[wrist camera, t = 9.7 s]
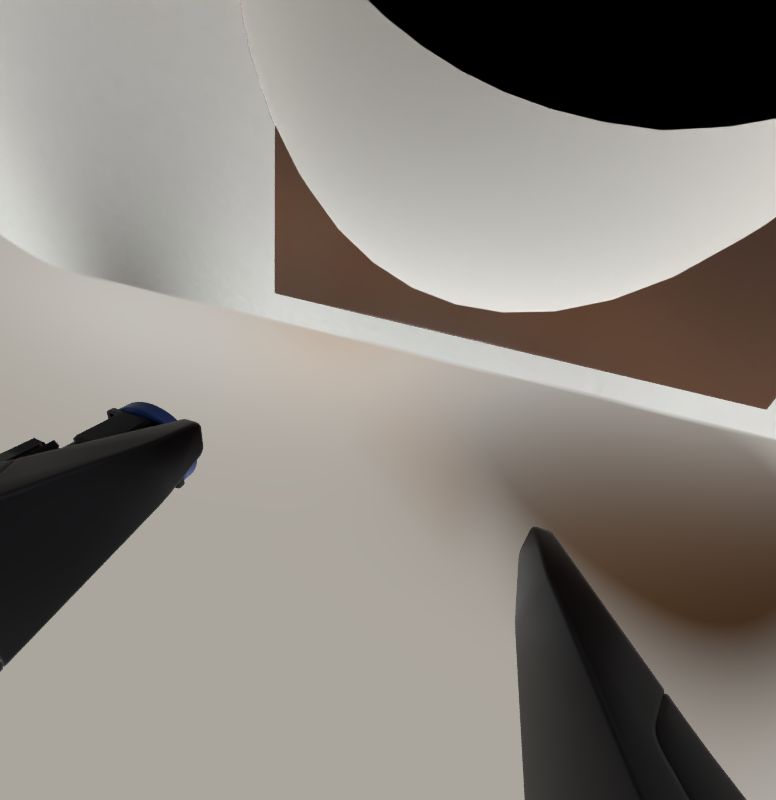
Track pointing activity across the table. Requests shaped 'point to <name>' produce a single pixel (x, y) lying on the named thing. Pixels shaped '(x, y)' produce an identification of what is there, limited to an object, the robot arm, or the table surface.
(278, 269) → the dark wooden block
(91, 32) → the table surface
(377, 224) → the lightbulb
